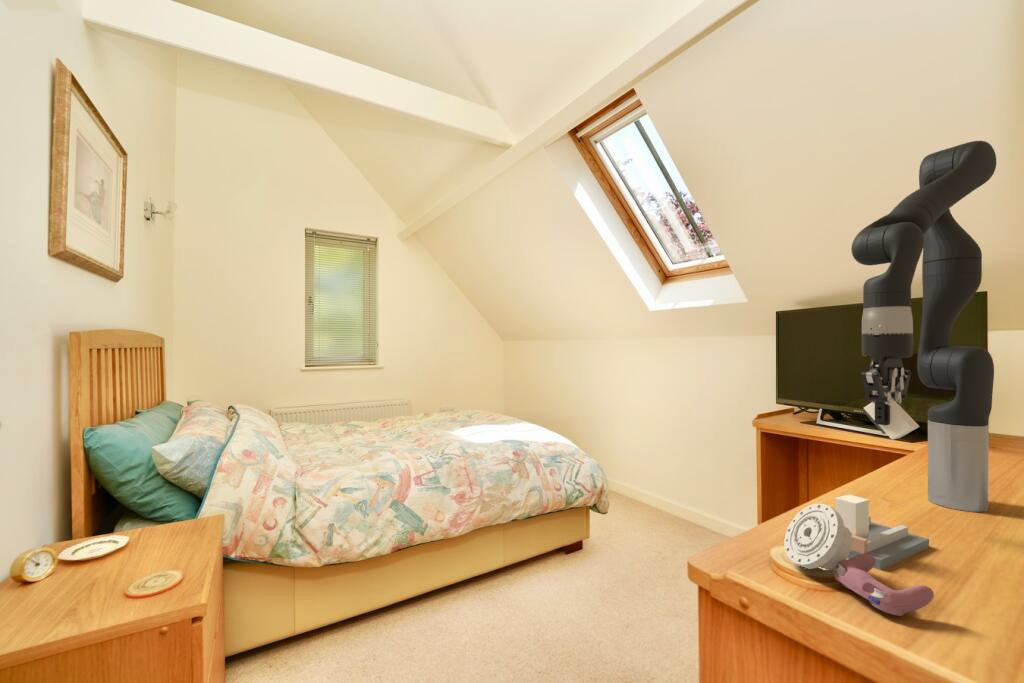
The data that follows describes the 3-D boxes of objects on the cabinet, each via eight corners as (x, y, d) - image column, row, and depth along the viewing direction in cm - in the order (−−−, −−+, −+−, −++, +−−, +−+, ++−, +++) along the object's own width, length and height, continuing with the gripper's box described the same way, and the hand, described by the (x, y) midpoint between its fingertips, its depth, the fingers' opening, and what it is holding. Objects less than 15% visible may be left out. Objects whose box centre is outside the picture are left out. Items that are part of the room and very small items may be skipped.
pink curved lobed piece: (866, 583, 67) (821, 578, 66) (871, 552, 67) (826, 547, 66) (934, 627, 57) (881, 621, 56) (940, 590, 57) (887, 584, 56)
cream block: (919, 426, 84) (889, 394, 88) (911, 427, 83) (881, 395, 87) (896, 439, 87) (868, 408, 92) (888, 441, 86) (860, 409, 90)
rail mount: (854, 525, 87) (854, 479, 87) (929, 548, 77) (929, 496, 77) (804, 542, 79) (804, 492, 79) (880, 570, 70) (880, 513, 70)
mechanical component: (776, 527, 76) (822, 490, 72) (799, 542, 76) (847, 506, 72) (791, 576, 68) (845, 536, 63) (818, 593, 67) (874, 555, 63)
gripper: (881, 332, 94) (882, 417, 94) (844, 332, 88) (844, 423, 88) (928, 331, 88) (928, 423, 88) (892, 331, 81) (892, 430, 81)
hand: (886, 423), depth 88 cm, fingers closed on cream block, 2 cm apart
